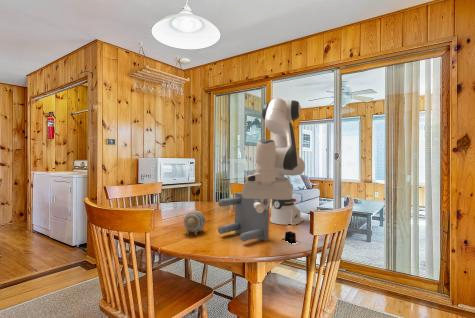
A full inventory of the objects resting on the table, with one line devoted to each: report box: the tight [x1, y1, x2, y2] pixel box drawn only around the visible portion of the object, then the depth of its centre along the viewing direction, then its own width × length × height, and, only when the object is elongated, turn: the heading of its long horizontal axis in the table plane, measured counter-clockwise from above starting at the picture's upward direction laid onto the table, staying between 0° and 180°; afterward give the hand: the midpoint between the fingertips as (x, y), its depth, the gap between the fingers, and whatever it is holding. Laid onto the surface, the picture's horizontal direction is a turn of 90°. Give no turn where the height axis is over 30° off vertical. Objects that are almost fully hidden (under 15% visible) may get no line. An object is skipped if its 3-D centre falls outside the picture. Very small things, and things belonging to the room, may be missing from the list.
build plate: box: [281, 230, 297, 245], centre depth 125 cm, size 12×7×5 cm, turn 28°
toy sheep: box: [183, 210, 206, 236], centre depth 137 cm, size 11×17×11 cm, turn 175°
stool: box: [217, 192, 270, 242], centre depth 129 cm, size 14×20×20 cm
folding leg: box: [254, 200, 264, 213], centre depth 121 cm, size 11×4×4 cm, turn 2°
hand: (265, 209), depth 116 cm, fingers closed
